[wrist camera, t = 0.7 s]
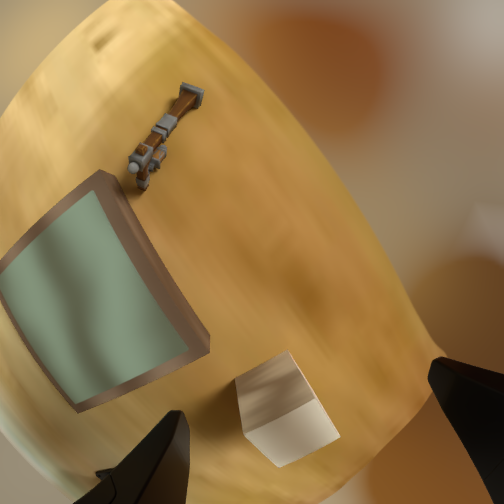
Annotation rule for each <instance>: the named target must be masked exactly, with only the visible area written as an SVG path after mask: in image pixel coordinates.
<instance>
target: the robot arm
mask: <svg viewBox="0 0 504 504" xmlns="http://www.w3.org/2000/svg"><path fill="white" fill-rule="evenodd" d="M428 382H429V384H430V386H431V388H432V390H433V392H434V394H435V396H436V398H437V400H438V402H439V404H440V406H441V408H442V410H443V412H444V413H445V415H446V417H447V418H448V420H449V422H450V423H451V425H452V427H453V428H454V430H455V432H456V433H457V435H458V437H459V438H460V440H461V442H462V443H463V445H464V447H465V448H466V450H467V452H468V454H469V456H470V458H471V459H472V461H473V463H474V465H475V467H476V468H477V470H478V472H479V474H480V476H481V478H482V480H483V482H484V484H485V486H486V488H487V490H488V492H489V494H490V496H491V499H492V501H493V503H494V504H504V374H501V373H498V372H494V371H490V370H487V369H483V368H480V367H476V366H472V365H469V364H466V363H462V362H459V361H455V360H452V359H449V358H446V357H438V358H436V359H434V360H433V361H432V363H431V366H430V370H429V373H428ZM189 469H190V430H189V425H188V423H187V420H186V418H185V415H184V413H183V411H181V410H171V411H169V412H168V413H167V414H166V415H165V416H164V417H163V418H162V420H161V421H160V422H159V423H158V424H157V425H156V426H155V427H154V428H153V429H152V430H151V431H150V432H149V433H148V434H147V436H146V437H145V438H144V439H143V440H142V441H141V442H140V443H139V444H138V445H137V446H136V447H135V448H134V449H133V450H132V451H131V452H130V453H129V454H128V455H127V456H126V457H125V458H124V459H123V460H122V461H121V462H120V463H119V464H118V465H117V466H116V467H115V468H114V469H110V470H105V471H99V472H96V476H97V477H98V478H100V479H101V480H102V481H101V482H100V483H99V484H97V485H96V486H95V487H94V488H93V489H92V490H90V491H89V492H88V493H87V494H85V495H84V496H83V497H81V498H80V499H78V500H77V501H76V502H74V503H73V504H185V503H186V495H187V487H188V479H189Z"/></svg>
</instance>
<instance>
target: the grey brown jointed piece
mask: <svg viewBox="0 0 504 504" xmlns="http://www.w3.org/2000/svg"><path fill="white" fill-rule="evenodd" d="M203 94H204V90H203V89H201V88H198V87H195V86H193V85H190V84H187V83H184V82H182V85H180V92H179V98H178V99H177V101H176V102H175V104H174V106H173V107H172V109H171V110H170V111H169V112H168V114H166V113H165V114H164V116H163V117H162V118H161V120H160V121H159V122H157V123H156V127H154V126H153V128H152V129H151V134H150V135H149V136H148V138H147V139H146V140H145V141H144V143H139V145H138V147H137V148H136V149H135V151H134V152H133V153H132V154H131V155H130V156H129V157H128V158H129V165H128V171H129V173H131V174H135V173H137V177H136V183H137V185H138V188H139V189H141V190H144V191H146V189H147V187H148V186H149V184H148V183H149V180H150V179H149V174H150V173H149V171H151V172H153V169H154V167H155V168H158V169H160V163H161V162H162V161H163V159H164V158H165V157H166V151H167V147H166V146H165V145H161V146H159V145H160V143H161V142H162V143H164V142H165V141H166V137H167V138H168V137H169V135H170V133H171V132H172V131H173V129H174V128H176V125H177V122H178V121H179V119H180V118H181V117H182V116H183V115H184V114H185V113H186V112H187V111H189V110H190V109H191V108H192V107H195V108H197V109H198V107H199V106H201V102H202V98H203ZM158 146H159V147H158Z"/></svg>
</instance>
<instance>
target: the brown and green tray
mask: <svg viewBox="0 0 504 504" xmlns="http://www.w3.org/2000/svg"><path fill="white" fill-rule="evenodd" d="M0 300H1V302H2V304H3V306H4V308H5V310H6V312H7V314H8V316H9V318H10V320H11V321H12V323H13V325H14V327H15V329H16V330H17V332H18V334H19V335H20V337H21V339H22V340H23V342H24V343H25V345H26V347H27V348H28V350H29V351H30V353H31V354H32V356H33V357H34V359H35V360H36V362H37V363H38V365H39V366H40V367H41V369H42V370H43V372H44V373H45V374H46V376H47V377H48V378H49V380H50V381H51V382H52V384H53V385H54V386H55V387H56V389H57V390H58V391H59V392H60V394H61V395H62V396H63V397H64V398H65V400H66V401H67V402H68V403H69V404H70V405H71V407H72V408H73V409H74V410H75V411H76V412H77V413H81V412H83V411H86V410H88V409H91V408H93V407H96V406H98V405H100V404H103V403H105V402H108V401H110V400H112V399H115V398H117V397H119V396H122V395H124V394H126V393H128V392H131V391H133V390H135V389H137V388H139V387H142V386H144V385H146V384H148V383H150V382H152V381H154V380H157V379H159V378H161V377H163V376H165V375H167V374H169V373H171V372H173V371H175V370H177V369H179V368H181V367H183V366H185V365H187V364H189V363H191V362H193V361H195V360H197V359H199V358H201V357H203V356H205V355H206V354H208V353H210V334H209V333H208V331H207V330H206V328H205V327H204V326H203V324H202V323H201V321H200V320H199V318H198V317H197V315H196V314H195V312H194V311H193V309H192V308H191V306H190V305H189V303H188V302H187V300H186V299H185V297H184V296H183V294H182V292H181V291H180V289H179V288H178V286H177V285H176V283H175V281H174V280H173V278H172V277H171V275H170V273H169V272H168V270H167V269H166V267H165V265H164V264H163V262H162V260H161V259H160V257H159V255H158V254H157V252H156V250H155V249H154V247H153V245H152V243H151V242H150V240H149V238H148V236H147V235H146V233H145V231H144V229H143V228H142V226H141V224H140V222H139V220H138V219H137V217H136V215H135V213H134V211H133V209H132V208H131V206H130V204H129V202H128V200H127V198H126V196H125V194H124V192H123V190H122V188H121V187H120V185H119V183H118V181H117V179H116V177H115V176H114V175H112V174H110V173H107V172H105V171H102V170H100V169H99V170H98V171H97V172H95V173H94V174H93V175H91V176H90V177H89V178H87V179H86V180H85V181H84V182H82V183H81V184H80V185H79V186H77V187H76V188H75V189H74V190H72V191H71V192H70V193H69V194H67V195H66V196H65V197H64V198H63V199H62V200H60V201H59V202H58V203H57V204H56V205H55V206H54V207H52V208H51V209H50V210H49V211H48V212H47V213H46V214H45V215H44V216H43V217H41V218H40V219H39V220H38V221H37V222H36V223H35V224H34V225H33V226H32V227H31V228H30V229H29V230H28V231H27V232H26V233H25V234H24V235H23V236H22V237H21V238H20V239H19V240H18V241H17V242H16V243H15V244H14V245H13V247H12V248H11V249H10V250H9V251H8V252H7V253H6V254H5V255H4V256H3V258H2V259H1V260H0Z"/></svg>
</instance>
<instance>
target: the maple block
mask: <svg viewBox="0 0 504 504" xmlns="http://www.w3.org/2000/svg"><path fill="white" fill-rule="evenodd" d="M235 383H236V390H237V397H238V404H239V410H240V417H241V423H242V429H243V435H244V436H245V437H246V438H247V439H248V440H249V441H250V442H251V443H252V444H253V445H254V446H256V447H257V448H258V449H259V450H260V451H261V452H262V453H263V454H264V455H265V456H266V457H267V458H268V459H269V460H271V461H272V462H273V463H274V464H275V465H276V466H277V467H278V468H280V467H282V466H284V465H287V464H289V463H291V462H293V461H295V460H298V459H300V458H302V457H304V456H306V455H308V454H310V453H312V452H314V451H316V450H318V449H320V448H321V447H323V446H325V445H327V444H329V443H331V442H332V441H334V440H336V439H338V438H339V437H340V435H339V433H338V432H337V430H336V428H335V426H334V425H333V423H332V421H331V420H330V418H329V416H328V415H327V413H326V411H325V410H324V408H323V406H322V405H321V403H320V401H319V399H318V398H317V396H316V394H315V393H314V391H313V389H312V388H311V386H310V384H309V383H308V381H307V380H306V378H305V376H304V375H303V373H302V372H301V370H300V369H299V367H298V365H297V364H296V362H295V361H294V359H293V357H292V356H291V354H290V352H289V351H288V349H287V350H286V351H284V352H282V353H280V354H279V355H277V356H275V357H273V358H272V359H270V360H268V361H266V362H264V363H263V364H261V365H259V366H257V367H255V368H253V369H252V370H250V371H248V372H246V373H244V374H242V375H240V376H238V377H236V378H235Z"/></svg>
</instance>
